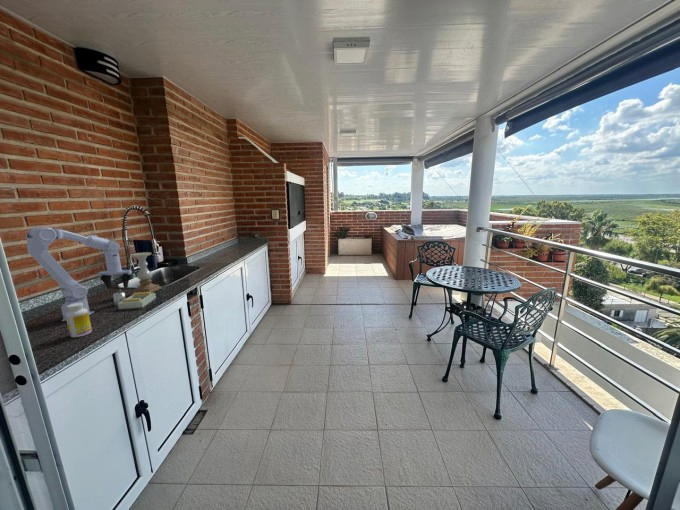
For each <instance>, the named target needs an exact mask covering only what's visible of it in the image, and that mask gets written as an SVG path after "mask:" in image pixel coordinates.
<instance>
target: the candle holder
mask: <svg viewBox="0 0 680 510" xmlns="http://www.w3.org/2000/svg"><path fill="white" fill-rule="evenodd" d="M151 255H152V252H151V251H150V252H149V251H145V252H144V251H143V252H135V253H131V254H130V257H131V258H136V260H138V261H137V262H138V263H137V265H136V266H138V268H139V271H138V272H137V275H136V278H137V279H138V280H139V282H138V283H139V284H140V285H139V286H138V287H136V288H134V289H133V291H132V292H131V296H132V295H134V293H143V292H151V293H154V292H155V291H157V290H159V289H161V290H162V286H160V284H154V283H152V279H151V278H152V276H153V273H152V272H151V271H150V270H149V269H148V265H149V264H148V262H147V260H146V259H147V258H148V256H151ZM155 293H156V292H155Z"/></svg>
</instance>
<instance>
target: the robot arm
mask: <svg viewBox="0 0 680 510" xmlns="http://www.w3.org/2000/svg"><path fill="white" fill-rule="evenodd" d="M25 238H26V245H27V246H26V247H27V252H28V254H29V255H30V256H31V257H32V258H33V259H34V260H35V261H36V262H37V263H38V264H39V265H40V266H41V267H42V268H43V270H44V271H45V272H47V274H48V275H50V277H51V278H52V279H53V280H54V281H56V283H57V284H58V287H59V288H60V289H61V293H62V295H63V296H65V302H63V304H62V305H61V310H60V311H61V314H62V318H63V319H61V321H62V322H67V320H66V313H67V312H69V310H68V309H67V306H68V305H71V304H75V303H83V308H85V309H87V310H88V314H89V316H90V315H92V314H94V313H95V311H94V310H93V311H90V306H89V301H88V297H87V295H88V293H89V289H88V288H87V287H86V286H84V285H81V284H80V283H79V282H78V281H77V280H75V279H74V278H73V277H72V276H71V275H70V274H69V273H68V272H67V271H66V270H65V268H63V266H62V265H61V264H60V263H59V262H58V261H57V260H56V259H55V258H54V257H53V256H52V255H51V253H50V252H49V251H48V249H49V247H50V245H51V244H52V243H53V242H54V241H55V240H61V239H64V240H69V241H73V242H79V243H83V245H84V246H85V247H87V248H92V249H98V250H101V251H103V252H104V259H105V263H106V264H105V265H106V269H107V270H106V271H99V272H97V273H98V274H97V275H98V277H99V279H100V280H101V281H102V282H103V284H104V285H105V286H106V288H107V290H111V289H113V284H112V276H120V279H121V281H122V285H123V288H124V289H127V288H128V287H129V281H130V279H131V276H132V274H133V273H132V272H133V271H132V270H131V269H122V263H121V258H120V252H119V251H120V249H121V245H120V244H119V242H117V241H116V240H109V238H107V237H104V238H103V237H100V236H98V235H97V234H90V235H87V236H86V235H81V234H78V233H75V232H71V231H67V230H65V229H60V228H51V227H48V226H44V227H42V226H33V227H31V228H30V229H29V230H28V231H27V233H26V235H25Z"/></svg>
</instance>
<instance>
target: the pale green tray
mask: <svg viewBox="0 0 680 510" xmlns="http://www.w3.org/2000/svg"><path fill="white" fill-rule="evenodd" d="M155 299H156V300H157V296H156V292H155V293H151V292H143V293H134V295H132V294H131V295H129V296H128V297H126V299H123V300H122V301H121V302H119V303H118V306H117V308H118V311H125V310H126V311H127V310H137V309H138V310H141V309H144V308H146V307H147V306H149V305H150V304H152V303H153V302H155ZM152 301H153V302H152Z"/></svg>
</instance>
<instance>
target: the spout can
mask: <svg viewBox="0 0 680 510" xmlns="http://www.w3.org/2000/svg"><path fill="white" fill-rule="evenodd" d="M112 296H113V302H114V306H116V307H118V303H119V302H121V301H122V300H123V299H126V298H127V297H126V292H125V291H122V289H118V292H114V293H113V294H112Z"/></svg>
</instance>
